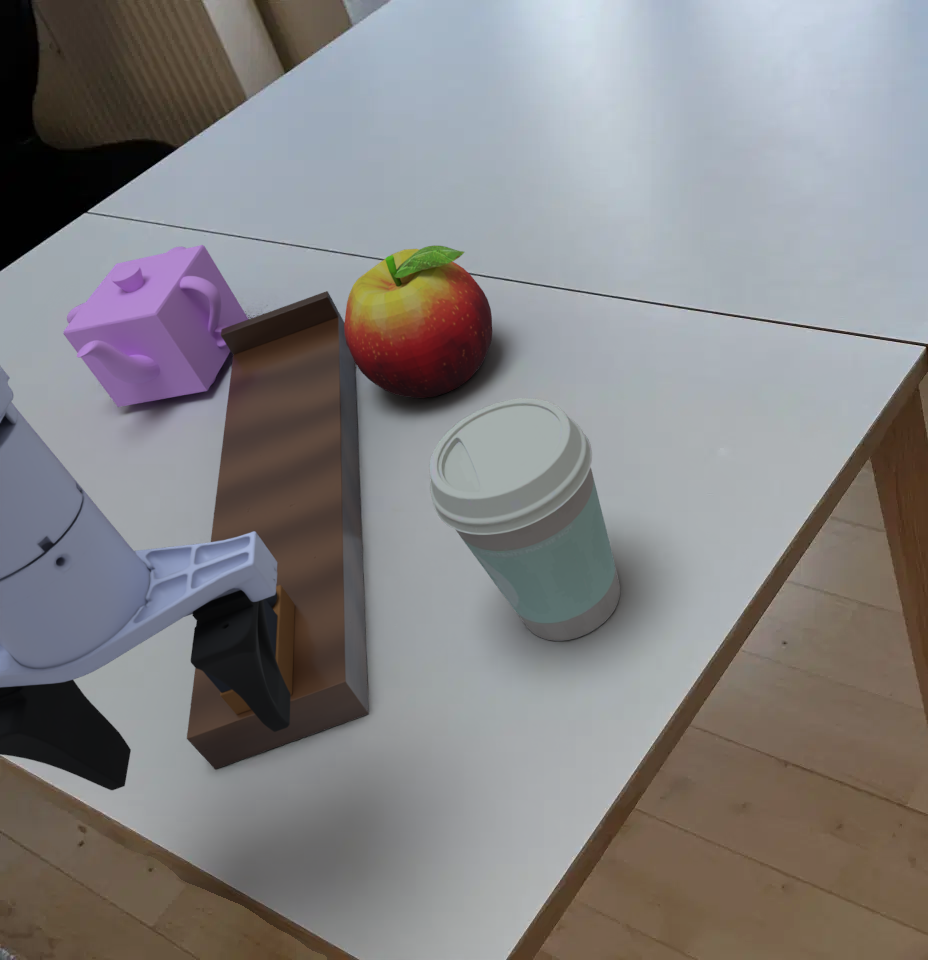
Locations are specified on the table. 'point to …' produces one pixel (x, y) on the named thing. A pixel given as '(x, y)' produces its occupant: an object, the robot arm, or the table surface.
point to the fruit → (418, 323)
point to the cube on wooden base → (282, 642)
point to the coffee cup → (529, 513)
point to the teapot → (156, 326)
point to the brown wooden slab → (294, 517)
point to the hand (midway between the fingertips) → (201, 741)
